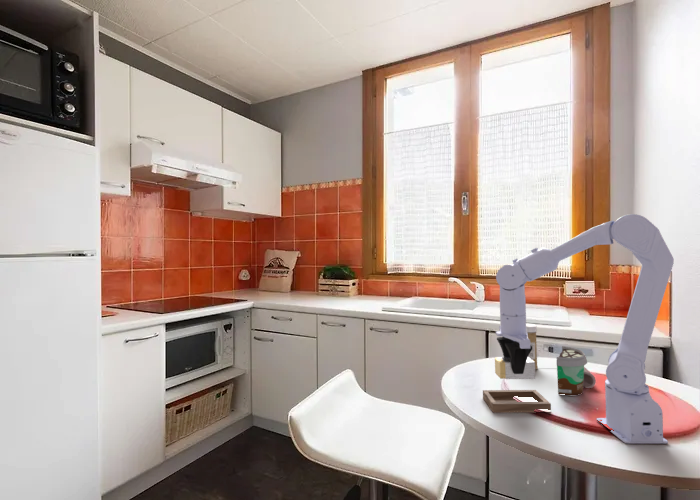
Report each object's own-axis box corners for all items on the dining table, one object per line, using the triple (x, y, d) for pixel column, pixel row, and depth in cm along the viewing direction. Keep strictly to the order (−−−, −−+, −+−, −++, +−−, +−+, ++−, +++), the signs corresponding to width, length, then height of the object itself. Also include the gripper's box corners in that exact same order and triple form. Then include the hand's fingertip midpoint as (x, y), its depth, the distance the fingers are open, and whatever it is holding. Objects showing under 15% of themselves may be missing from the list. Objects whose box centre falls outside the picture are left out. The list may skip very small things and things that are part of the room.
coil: (597, 373, 96) (574, 353, 113) (577, 370, 97) (558, 351, 114) (595, 391, 96) (573, 368, 113) (575, 388, 97) (556, 365, 114)
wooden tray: (551, 412, 84) (550, 403, 84) (493, 412, 85) (492, 404, 85) (535, 397, 92) (535, 389, 92) (482, 398, 93) (482, 390, 93)
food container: (586, 402, 88) (585, 361, 88) (557, 397, 92) (556, 357, 92) (589, 385, 98) (588, 348, 98) (563, 381, 102) (562, 345, 102)
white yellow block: (535, 378, 86) (534, 362, 86) (500, 379, 87) (500, 362, 87) (528, 372, 90) (527, 356, 90) (495, 373, 91) (494, 357, 91)
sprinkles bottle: (539, 367, 113) (538, 324, 113) (534, 371, 110) (533, 327, 110) (524, 364, 117) (523, 322, 117) (518, 368, 114) (517, 325, 113)
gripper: (486, 309, 96) (488, 360, 96) (506, 320, 81) (508, 381, 82) (514, 308, 95) (516, 360, 96) (539, 320, 81) (541, 381, 81)
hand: (514, 370), depth 89 cm, fingers closed on white yellow block, 4 cm apart
